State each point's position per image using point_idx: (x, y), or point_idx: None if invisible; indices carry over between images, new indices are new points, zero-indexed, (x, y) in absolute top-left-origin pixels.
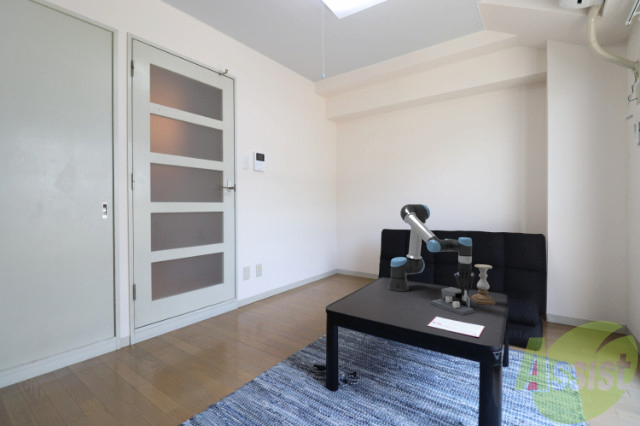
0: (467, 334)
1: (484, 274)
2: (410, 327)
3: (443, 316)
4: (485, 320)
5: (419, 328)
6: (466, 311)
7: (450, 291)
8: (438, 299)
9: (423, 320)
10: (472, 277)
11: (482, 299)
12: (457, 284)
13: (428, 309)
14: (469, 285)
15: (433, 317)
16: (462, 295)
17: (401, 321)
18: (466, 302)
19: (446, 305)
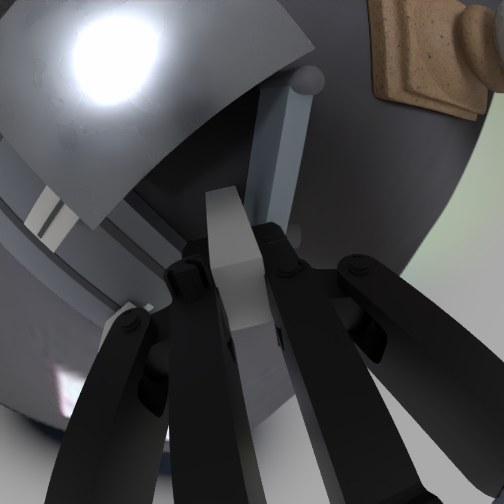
0: (167, 440)
1: None
2: (38, 418)
3: (82, 371)
4: (264, 374)
5: (56, 423)
6: None
7: (38, 170)
8: (3, 141)
9: (40, 395)
10: (476, 487)
11: (430, 98)
12: (92, 395)
13: (3, 303)
14: (392, 307)
15: (54, 379)
16: (207, 220)
17: (5, 395)
18: (253, 167)
19: (65, 290)
